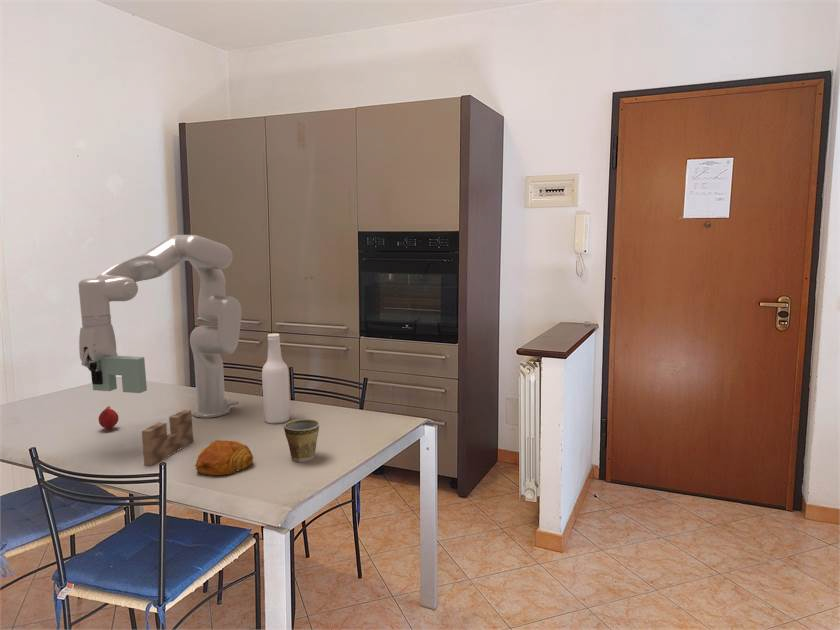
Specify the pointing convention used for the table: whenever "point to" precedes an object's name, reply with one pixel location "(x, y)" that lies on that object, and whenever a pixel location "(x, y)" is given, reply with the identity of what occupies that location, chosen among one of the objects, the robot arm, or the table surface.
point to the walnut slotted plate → (167, 437)
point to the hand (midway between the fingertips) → (102, 381)
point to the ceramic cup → (302, 438)
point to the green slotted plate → (122, 373)
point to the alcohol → (275, 384)
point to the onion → (108, 418)
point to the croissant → (223, 458)
